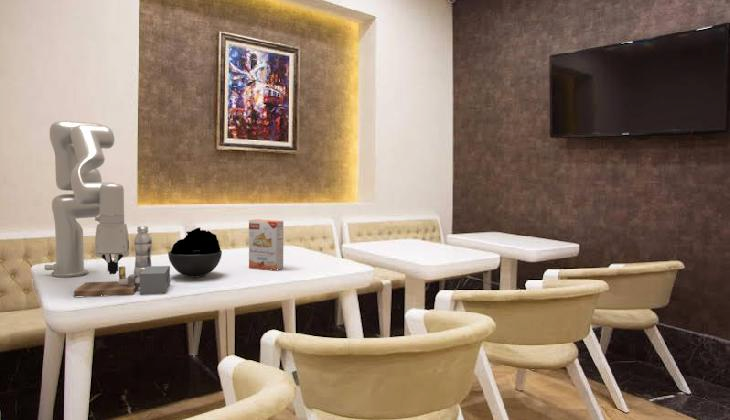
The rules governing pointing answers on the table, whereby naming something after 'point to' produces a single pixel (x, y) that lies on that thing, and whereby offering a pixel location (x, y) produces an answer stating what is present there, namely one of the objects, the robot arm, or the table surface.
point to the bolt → (123, 278)
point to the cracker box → (265, 244)
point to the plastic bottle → (142, 250)
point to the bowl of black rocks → (196, 253)
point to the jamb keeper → (154, 280)
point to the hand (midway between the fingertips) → (113, 273)
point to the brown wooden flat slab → (108, 288)
